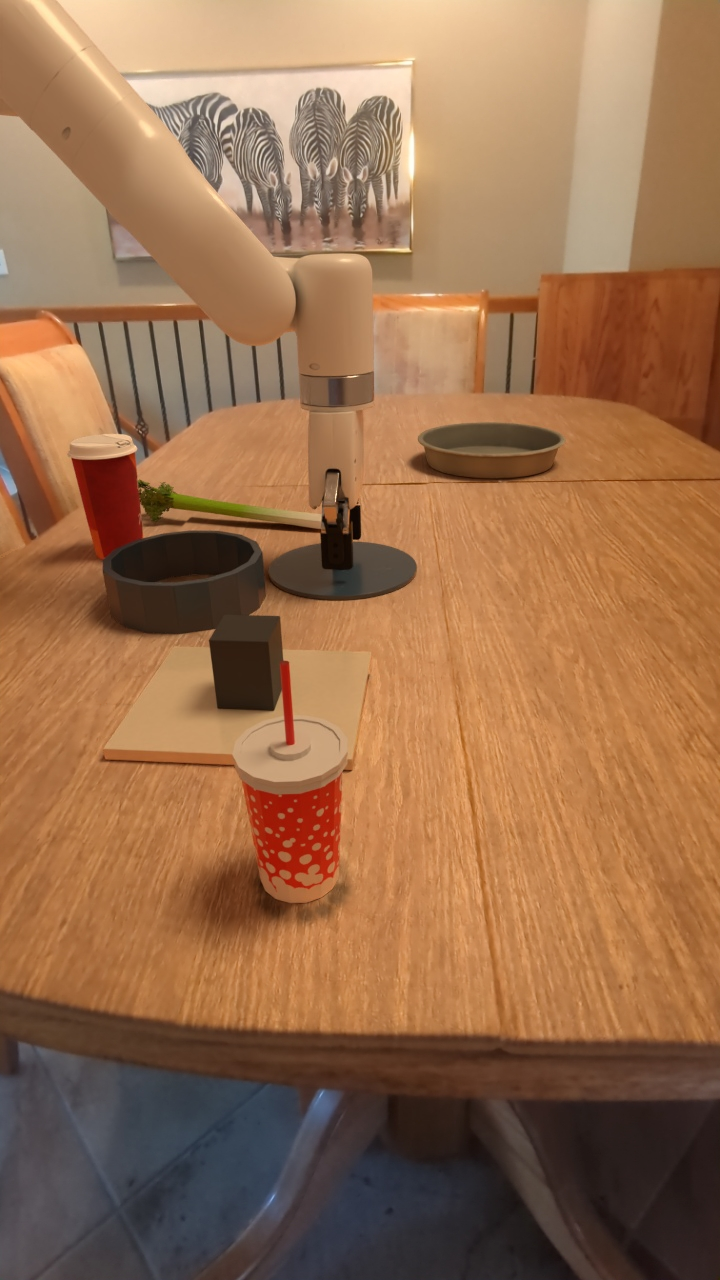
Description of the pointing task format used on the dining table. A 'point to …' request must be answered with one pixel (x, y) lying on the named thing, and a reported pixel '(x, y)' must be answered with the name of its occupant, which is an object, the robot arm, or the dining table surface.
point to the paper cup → (108, 489)
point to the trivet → (201, 733)
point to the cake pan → (491, 449)
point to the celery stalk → (217, 507)
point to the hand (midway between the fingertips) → (342, 552)
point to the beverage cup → (294, 799)
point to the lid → (343, 572)
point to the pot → (186, 602)
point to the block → (247, 662)
